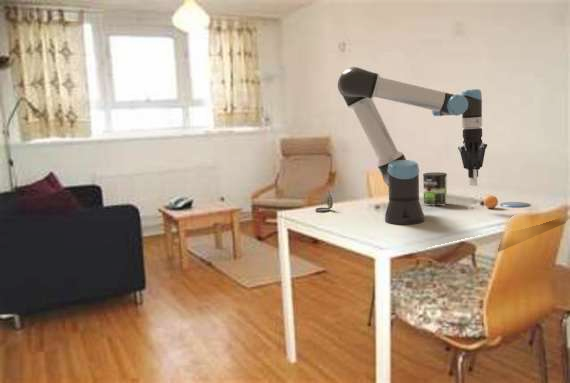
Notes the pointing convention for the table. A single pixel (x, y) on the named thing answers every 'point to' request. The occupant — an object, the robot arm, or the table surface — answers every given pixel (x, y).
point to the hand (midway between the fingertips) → (473, 185)
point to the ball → (490, 201)
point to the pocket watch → (329, 203)
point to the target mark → (515, 204)
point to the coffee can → (435, 188)
